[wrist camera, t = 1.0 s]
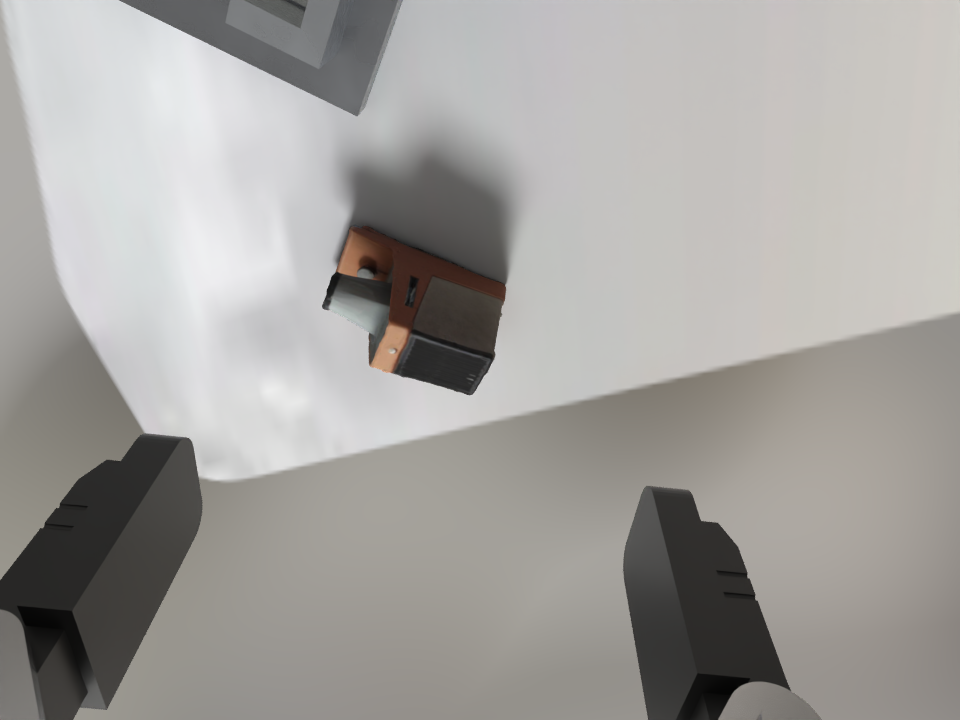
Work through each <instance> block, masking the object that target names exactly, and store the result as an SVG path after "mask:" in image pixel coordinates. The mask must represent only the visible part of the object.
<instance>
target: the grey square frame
mask: <svg viewBox="0 0 960 720" xmlns="http://www.w3.org/2000/svg"><path fill="white" fill-rule="evenodd" d="M120 1H122V2H124V3H126V4H128V5H130V6H132V7H134V8H136V9H138V10H140V11H142V12H144V13H146V14H148V15H150V16H152V17H154V18H156V19H159V20H161V21H163V22H165V23H167V24H169V25H171V26H173V27H175V28H177V29H179V30H181V31H183V32H185V33H187V34H189V35H191V36H193V37H195V38H198V39H200V40H202V41H204V42H206V43H208V44H210V45H212V46H214V47H216V48H218V49H220V50H222V51H224V52H226V53H228V54H230V55H232V56H234V57H236V58H239V59H241V60H243V61H245V62H247V63H249V64H251V65H253V66H255V67H257V68H259V69H261V70H263V71H265V72H267V73H269V74H271V75H273V76H275V77H278V78H280V79H282V80H284V81H286V82H288V83H290V84H292V85H294V86H296V87H298V88H300V89H302V90H304V91H306V92H308V93H310V94H312V95H314V96H316V97H319V98H321V99H323V100H325V101H327V102H329V103H331V104H333V105H335V106H337V107H339V108H341V109H343V110H345V111H347V112H349V113H351V114H353V115H355V116H358V115H359V114H360V113H361V112H362V110H363V109H364V108H365V105H366V102H367V100H368V97H369V94H370V91H371V88H372V85H373V83H374V80H375V77H376V74H377V71H378V68H379V66H380V63H381V60H382V57H383V54H384V51H385V49H386V46H387V43H388V40H389V37H390V34H391V32H392V29H393V26H394V23H395V20H396V17H397V15H398V12H399V9H400V6H401V3H402V0H120Z"/></svg>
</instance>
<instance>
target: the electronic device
mask: <svg viewBox="0 0 960 720" xmlns="http://www.w3.org/2000/svg"><path fill="white" fill-rule="evenodd" d="M505 293H506V287H505V285H504V284H502V283H500V282H497V281H493V280H491V279H488V278H486V277H483V276H480V275H478V274H475V273H473V272H471V271H468V270H466V269H464V268H463V267H460V266H458V265H456V264H454V263H450V262H447V261H446V260H444V259H442V258H440V257H437V256H434V255H432V254H429V253H427V252H424V251H422V250H421V249H417V248H413V247H410V246H407V245H405V244H402V243H400V242H398V241H397V240H395V239H392V238H389V237H388V236H386V235H384V234H381V233H378V232H376V231H374V230H373V229H372V228H370V227H368V226H363V227H362V228H360V227H357V226H356V225H353V226H351V227H350V229H349V235H348V238H347V241H346V244H345V247H344V249H343V252H342V255H341V258H340V261H339V264H338V267H337V269H336V272H335V274H334V275H333V276H332V277H331V280H330V284H329V286H328V289H327V295H326V297H325V300H324V302H323V305H322V308H323V309H325V310H330V311H332V312H334V313H336V314H338V315H340V316H342V317H344V318H346V319H347V320H349V321H351V322H352V323H354V324H356V325H357V326H359V327H361V328H362V329H364V330H366V331H367V332H369V365H370V366H371V367H373V368H377V369H380V370H382V371H383V372H386V373H388V372H390V373H393V374H397V375H399V376H402V377H408V378H412V379H416V380H419V381H423V382H427V383H431V384H434V385H437V386H441V387H445V388H447V389H451V390H454V391H456V392H462V393H464V394H467V395H472V394H473V393H474V392H475V391H476V389H477V387H478V385H479V384H480V382H481V380H482V379H483V377H484V375H485V374H486V373H487V372H488V370H489V368H490V366H491V364H492V362H493V360H494V358H495V352H494V349H495V343H496V337H497V331H498V326H499V320H500V317H501V316H502V313H501V308H502V306H503V304H504V301H505Z"/></svg>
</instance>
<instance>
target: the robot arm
mask: <svg viewBox="0 0 960 720" xmlns="http://www.w3.org/2000/svg"><path fill="white" fill-rule="evenodd" d="M201 516H202V496H201V491H200V484H199V478H198V472H197V466H196V460H195V454H194V448H193V444H192V442H191V440H190V439H189V438H186V437H176V436H166V435H156V434H142V435H140V437H138V439H137V440H136V441H135V442H134V444H133V445H132V446H131V448H130V449H129V451H128V452H127V453H126V455H125V456H124V457H123V459H122V460H121V461H113V460H106V461H104V462H103V463H101V464H100V465H99V466H97V467H96V468H94V469H93V470H91V471H90V472H88V473H87V474H86V475H84V476H83V477H81V478H80V479H79V480H78V481H77V482H76V483H75V484H74V486H73V487H72V488H71V490H70V491H69V492H68V494H67V495H66V496H65V497H64V499H63V500H62V501H61V503H60V507H59V508H56V509H55V510H54V512H53V513H52V514H51V516H50V517H49V518H48V519H47V521H46V522H45V526H44V528H43V529H42V528H40V530H39V531H38V532H37V534H36V535H35V536H34V537H33V539H32V540H31V541H30V543H29V544H28V545H27V547H26V548H25V549H24V550H23V552H22V553H21V554H20V556H19V557H18V558H17V560H16V561H15V562H14V563H13V565H12V566H11V567H10V569H9V570H8V571H7V573H6V574H5V575H4V576H3V578H2V579H1V580H0V720H73V719H74V717H75V715H76V713H77V711H78V709H79V708H80V707H82V708H93V709H103V710H107V708H108V706H109V704H110V702H111V700H112V698H113V697H114V694H115V693H116V691H117V689H118V687H119V685H120V683H121V681H122V679H123V677H124V675H125V673H126V671H127V669H128V667H129V665H130V663H131V661H132V659H133V657H134V656H135V654H136V651H137V649H138V648H139V646H140V644H141V642H142V640H143V637H144V636H145V634H146V632H147V630H148V628H149V626H150V624H151V622H152V620H153V618H154V616H155V614H156V613H157V611H158V609H159V607H160V605H161V603H162V601H163V599H164V597H165V595H166V593H167V591H168V589H169V587H170V585H171V583H172V581H173V579H174V577H175V575H176V573H177V572H178V570H179V568H180V566H181V564H182V562H183V560H184V558H185V556H186V554H187V552H188V550H189V548H190V546H191V544H192V542H193V540H194V538H195V536H196V534H197V531H198V528H199V525H200V521H201ZM623 571H624V582H625V587H626V593H627V599H628V605H629V611H630V616H631V622H632V628H633V634H634V640H635V645H636V651H637V657H638V663H639V669H640V675H641V680H642V686H643V692H644V698H645V704H646V709H647V715H648V720H821V718H820V716H819V715H818V714H817V713H816V712H815V710H814V709H813V708H812V707H811V706H810V705H809V704H808V703H807V702H806V701H804V700H803V699H802V698H800V697H799V696H798V695H796V694H795V693H793V692H792V691H791V690H790V687H789V685H788V683H787V680H786V678H785V675H784V672H783V669H782V667H781V664H780V661H779V658H778V656H777V653H776V650H775V647H774V645H773V642H772V639H771V637H770V634H769V631H768V628H767V626H766V623H765V620H764V617H763V615H762V612H761V609H760V606H759V604H758V601H756V600H755V592H754V590H753V587H752V584H751V581H750V579H748V578H747V570H746V568H745V565H744V562H743V559H742V557H741V554H740V551H739V549H738V547H737V545H736V544H735V543H734V542H733V540H732V539H731V538H730V537H729V536H728V535H727V533H726V532H725V531H724V530H723V528H722V527H721V526H720V525H719V524H718V523H713V522H704V521H701V520H700V517H699V514H698V511H697V508H696V504H695V501H694V498H693V495H692V494H691V492H690V491H689V490H683V489H673V488H662V487H653V486H646V487H645V488H644V490H643V492H642V494H641V498H640V501H639V504H638V507H637V510H636V513H635V517H634V520H633V523H632V526H631V530H630V533H629V536H628V539H627V542H626V546H625V552H624V564H623Z"/></svg>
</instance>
